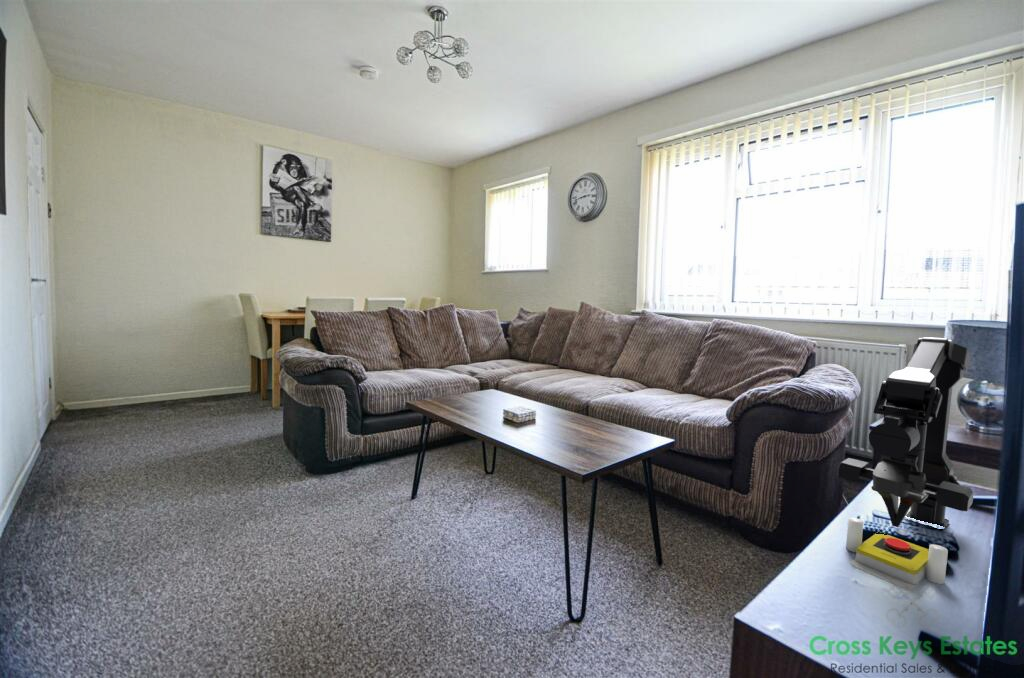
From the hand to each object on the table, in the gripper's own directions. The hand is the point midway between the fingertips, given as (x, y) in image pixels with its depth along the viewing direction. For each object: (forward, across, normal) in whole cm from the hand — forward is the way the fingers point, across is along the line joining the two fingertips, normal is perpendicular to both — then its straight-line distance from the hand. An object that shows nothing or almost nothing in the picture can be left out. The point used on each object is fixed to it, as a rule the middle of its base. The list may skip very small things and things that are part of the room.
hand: (895, 525), depth 86 cm
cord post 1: (+8, -6, 0) cm, 10 cm away
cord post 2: (+8, +6, 0) cm, 10 cm away
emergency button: (+8, 0, 0) cm, 8 cm away
